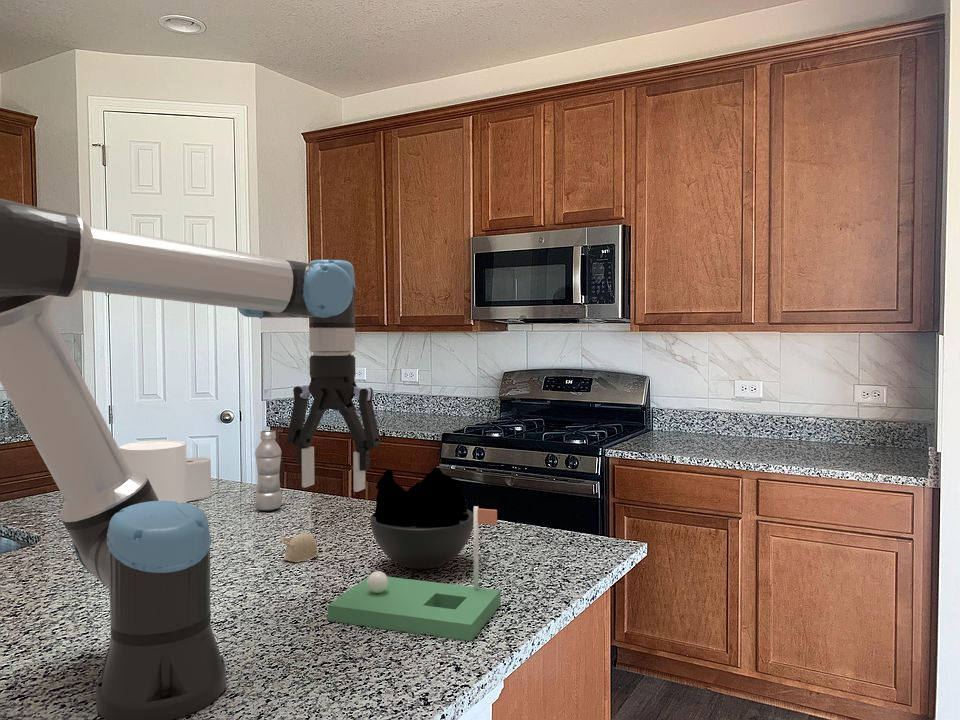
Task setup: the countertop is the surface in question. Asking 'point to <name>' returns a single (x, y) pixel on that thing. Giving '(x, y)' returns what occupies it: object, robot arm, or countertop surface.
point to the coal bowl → (421, 520)
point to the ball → (377, 582)
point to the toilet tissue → (198, 478)
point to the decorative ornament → (300, 547)
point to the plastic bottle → (268, 472)
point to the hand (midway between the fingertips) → (333, 487)
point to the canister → (160, 466)
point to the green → (423, 602)
